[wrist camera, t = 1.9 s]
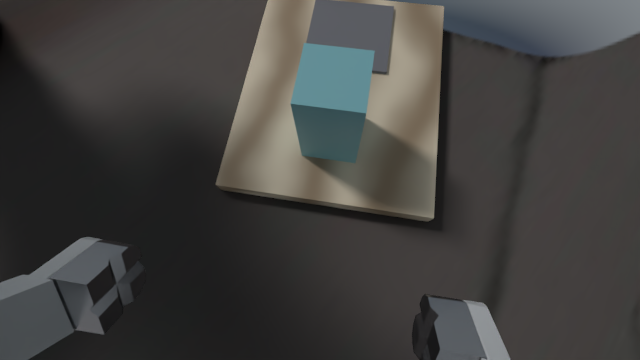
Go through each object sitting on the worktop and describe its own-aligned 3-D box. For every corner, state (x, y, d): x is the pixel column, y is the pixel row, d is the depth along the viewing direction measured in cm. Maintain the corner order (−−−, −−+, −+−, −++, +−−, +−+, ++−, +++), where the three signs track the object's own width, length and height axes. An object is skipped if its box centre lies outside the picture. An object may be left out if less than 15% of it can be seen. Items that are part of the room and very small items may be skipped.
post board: (221, 189, 27) (188, 162, 20) (273, 1, 33) (261, -62, 27) (428, 221, 25) (460, 202, 19) (438, 18, 32) (465, -45, 26)
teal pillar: (302, 155, 26) (290, 103, 18) (311, 109, 27) (304, 42, 20) (355, 163, 25) (366, 113, 18) (361, 115, 27) (374, 50, 19)
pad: (302, 64, 29) (301, 62, 28) (316, 1, 31) (315, -2, 31) (386, 74, 28) (386, 72, 28) (393, 8, 31) (394, 6, 30)
